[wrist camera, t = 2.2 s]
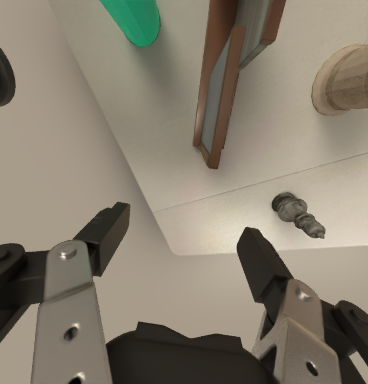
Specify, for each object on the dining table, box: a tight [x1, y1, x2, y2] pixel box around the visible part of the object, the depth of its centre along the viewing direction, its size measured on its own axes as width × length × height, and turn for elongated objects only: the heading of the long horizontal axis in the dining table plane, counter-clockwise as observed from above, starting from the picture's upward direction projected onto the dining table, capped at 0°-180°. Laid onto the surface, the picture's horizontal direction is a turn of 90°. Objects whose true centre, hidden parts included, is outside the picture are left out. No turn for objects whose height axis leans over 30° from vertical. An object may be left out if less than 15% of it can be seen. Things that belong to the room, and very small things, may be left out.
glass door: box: [199, 26, 246, 169], centre depth 20 cm, size 1×11×14 cm, turn 174°
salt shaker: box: [272, 193, 325, 239], centre depth 31 cm, size 6×6×12 cm
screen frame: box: [193, 0, 286, 149], centre depth 18 cm, size 6×22×18 cm, turn 174°
